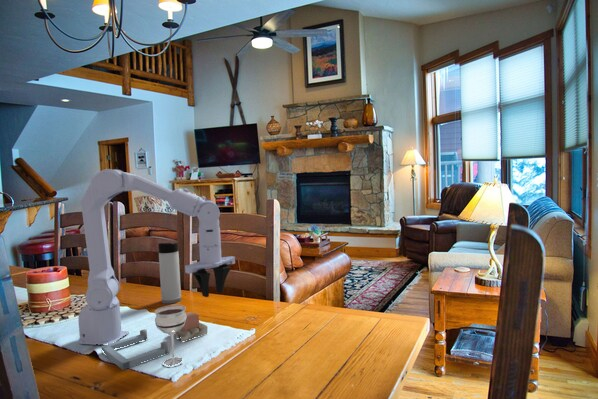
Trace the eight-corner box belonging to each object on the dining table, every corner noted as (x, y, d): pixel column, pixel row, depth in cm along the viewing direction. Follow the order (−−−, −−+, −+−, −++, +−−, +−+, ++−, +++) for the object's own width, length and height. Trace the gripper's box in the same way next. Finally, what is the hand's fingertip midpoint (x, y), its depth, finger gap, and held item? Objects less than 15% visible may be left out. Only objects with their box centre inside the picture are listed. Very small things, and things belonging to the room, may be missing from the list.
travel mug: (157, 303, 133) (153, 243, 132) (169, 297, 139) (165, 239, 138) (173, 304, 131) (169, 243, 130) (184, 298, 137) (181, 240, 136)
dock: (123, 370, 88) (122, 359, 88) (101, 352, 97) (100, 342, 97) (169, 353, 95) (169, 343, 95) (145, 338, 105) (145, 329, 104)
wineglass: (177, 352, 95) (174, 303, 95) (195, 360, 91) (192, 308, 90) (151, 364, 90) (148, 311, 89) (168, 372, 86) (165, 317, 85)
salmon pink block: (185, 330, 103) (184, 319, 103) (177, 326, 106) (177, 315, 106) (199, 326, 106) (198, 315, 106) (191, 322, 109) (190, 311, 109)
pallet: (183, 343, 101) (182, 334, 101) (170, 336, 106) (169, 327, 106) (207, 334, 106) (207, 326, 106) (194, 328, 111) (193, 319, 111)
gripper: (193, 251, 102) (196, 304, 103) (240, 242, 112) (242, 290, 113) (180, 248, 107) (182, 298, 108) (226, 240, 117) (228, 286, 118)
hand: (212, 294), depth 111 cm, fingers open, 4 cm apart
